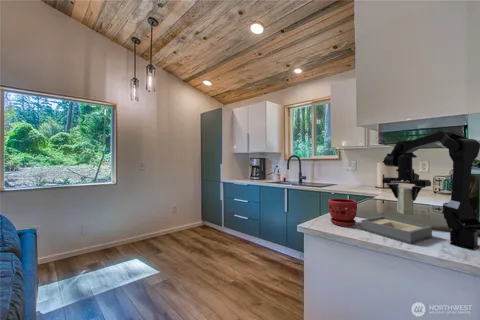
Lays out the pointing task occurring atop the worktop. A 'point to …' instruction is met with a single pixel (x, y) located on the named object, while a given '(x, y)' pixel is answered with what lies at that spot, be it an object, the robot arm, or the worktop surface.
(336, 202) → the plant pot
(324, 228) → the worktop surface
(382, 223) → the socket box
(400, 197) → the skincare box
